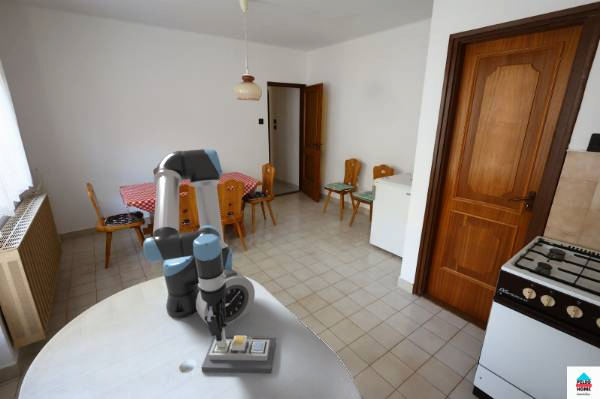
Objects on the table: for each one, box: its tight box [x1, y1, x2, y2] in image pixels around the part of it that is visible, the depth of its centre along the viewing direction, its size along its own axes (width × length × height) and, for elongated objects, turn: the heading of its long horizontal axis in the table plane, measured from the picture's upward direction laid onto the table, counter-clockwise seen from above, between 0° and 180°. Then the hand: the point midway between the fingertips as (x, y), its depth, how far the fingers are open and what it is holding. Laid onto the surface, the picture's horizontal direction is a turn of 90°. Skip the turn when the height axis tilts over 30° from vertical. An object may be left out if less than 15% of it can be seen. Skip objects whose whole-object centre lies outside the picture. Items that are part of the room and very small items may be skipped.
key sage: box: [214, 341, 230, 353], centre depth 93 cm, size 4×4×2 cm
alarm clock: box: [196, 269, 256, 326], centre depth 108 cm, size 21×8×20 cm, turn 132°
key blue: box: [251, 342, 265, 354], centre depth 92 cm, size 4×4×2 cm
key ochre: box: [232, 335, 248, 350], centre depth 92 cm, size 4×4×2 cm
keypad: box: [201, 336, 277, 374], centre depth 93 cm, size 22×12×4 cm, turn 88°
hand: (221, 345), depth 92 cm, fingers closed
